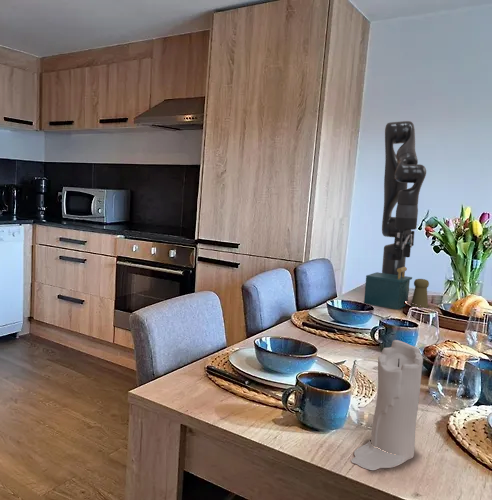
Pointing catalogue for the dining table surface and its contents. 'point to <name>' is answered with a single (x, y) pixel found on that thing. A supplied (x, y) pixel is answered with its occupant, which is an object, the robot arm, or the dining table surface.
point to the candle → (394, 408)
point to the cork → (420, 293)
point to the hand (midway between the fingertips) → (402, 258)
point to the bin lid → (391, 276)
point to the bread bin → (386, 293)
